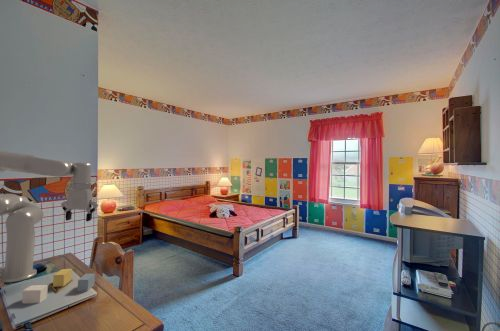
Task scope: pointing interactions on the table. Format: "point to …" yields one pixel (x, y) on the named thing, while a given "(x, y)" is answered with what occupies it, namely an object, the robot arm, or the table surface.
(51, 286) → the shard
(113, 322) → the table surface
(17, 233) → the robot arm
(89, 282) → the slate brick
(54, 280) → the mustard brick
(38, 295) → the cream brick
